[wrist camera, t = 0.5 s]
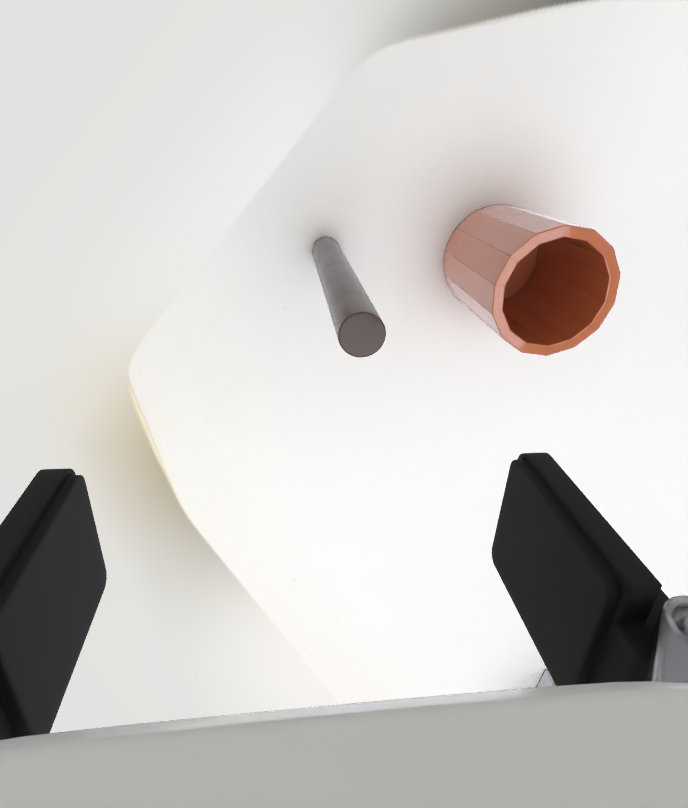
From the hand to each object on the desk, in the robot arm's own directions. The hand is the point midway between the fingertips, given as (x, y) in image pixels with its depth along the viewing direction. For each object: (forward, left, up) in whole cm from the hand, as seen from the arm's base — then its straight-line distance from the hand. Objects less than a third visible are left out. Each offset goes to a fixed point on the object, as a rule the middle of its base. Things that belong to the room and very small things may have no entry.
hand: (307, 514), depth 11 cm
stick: (+1, +3, -25) cm, 25 cm away
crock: (+9, +11, -25) cm, 29 cm away
